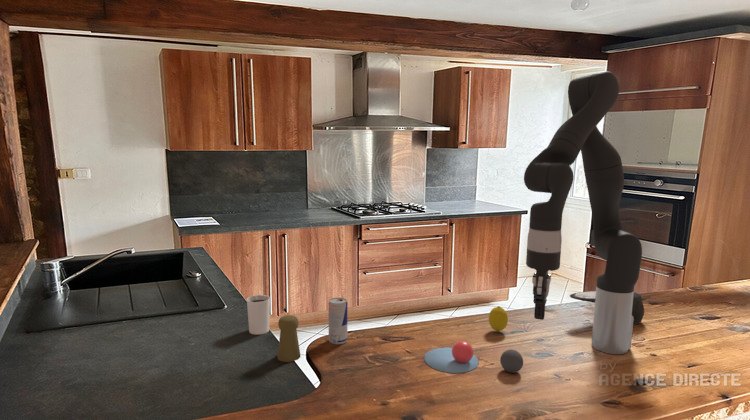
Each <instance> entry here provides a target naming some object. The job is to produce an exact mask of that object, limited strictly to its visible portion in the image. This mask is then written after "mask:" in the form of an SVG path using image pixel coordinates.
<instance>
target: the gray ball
mask: <svg viewBox="0 0 750 420" xmlns="http://www.w3.org/2000/svg"><path fill="white" fill-rule="evenodd" d="M499 359H500V360H499V361H500V365H501V367H502V369H504V370H505V371H506V372H507V373H510V374H511V373H512V374H513V373H517V372H520V370H521V369H522V368H523V366H524V358H523V356H522V355H521V353H520V352H518V351H517V350H516V349H507V350H505V351H503V353H502V354H501V355H500V358H499Z"/></svg>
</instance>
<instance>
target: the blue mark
mask: <svg viewBox="0 0 750 420" xmlns="http://www.w3.org/2000/svg"><path fill="white" fill-rule="evenodd" d="M452 348H453V347H438V348H434V349H431V350H429V351H427V352H426V353H425V354H424V357H423V359H424V362H425V364H426V365H427V366H429V367H430V368H432V369H434V370H437V371H438V372H443V373H449V374H461V373H467V372H471V371H473V370H476V369H477V367H478V366H479V359H478V357H477V356H476V355H475V354H473V357H472V359H471V360H470V361H469V362H467V363H459V362H457V361H456V360H455V359H454V358H453V355H452Z"/></svg>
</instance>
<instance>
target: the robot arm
mask: <svg viewBox="0 0 750 420" xmlns="http://www.w3.org/2000/svg"><path fill="white" fill-rule="evenodd" d="M567 87H568V88H567V98H568V103H569V107H570V112H571V115H572V116H571V117H570V118H568V119H567V120H566V121H565V122H563V123H562V124H561V125H560V126H559V128H558V129H557V130H556V131H555V133H554V135H553V136H552V139H551V140H550V142H549V143H548V146H547V147H546V148H544V149H542V151H541V152H540V153H539V154H537V155H536V156H535V157H534V158H533V159H532V160H531V161H530V162H529V163H528V165H527V166H526V168H525V170H524V174H523V183H524V185H525V187H526V188H527V189H528V190H530V191H531V192H535V193H547V194H551V195H550V198H549V199H548V200H547V201H543V202H542V201H540V202H535V203H533V204H532V205H531V206H530V212H529V224H528V225H529V226H528V227H529V229H528V233H527V240H526V242H527V243H526V256H525V257H526V258H525V264H526V266H527V268H529V269H533V270H535V271H536V272H534V273H533V274H532V280H531V281H532V284H533V285H532V295H533V304H534V319H535V320H541V321H542V320H544V319H545V312H546V304H547V301H548V300H547V297H548V296H549V292H550V285H551V281H552V274H549V272H550V271H558V270H559V269H560V267H561V255H562V253H561V252H562V240H563V239H562V237H563V236H562V223H563V222H562V221H563V212H564V209H565V205H566V202H567V199H568V197H569V194H570V191H571V189H572V186H573V181H574V171H573V169H572V167H571V166H572V165H573V164H574V163H575V161H576V159H577V158H578V156H579V154H580V153H581V159H582V165H583V172H584V178H585V184H586V187H587V193H588V198H589V205H590V209H591V216H592V229H593V244H594V249H595V252H596V254H597V255H598V256H599V258H601V259H602V260H604V261H606V262H605V263H606V264H605V269H604V273H601V274H599V275H597V277H596V283H595V284H596V286H595V291H596V297H595V303H594V311H593V323H592V333H591V346H592V347H593V348H594V349H595V350H597V351H599V352H603V353H606V354H611V355H624V354H627V353H628V352H629V350H631V349H632V348H631V347H632V339H633V328H634V325H633V320H634V317H633V316H632V305H633V293H634V291H635V285H636V284H637V282H638V281H639V277H640V269H641V265H642V264H641V263H642V257H643V256H642V255H643V246H642V243H641V240H640V239H639V237H638V236H636V235H634V234H632V233H631V232H629V231H625V230H624V229H623V226H622V221H621V217H620V203H621V198H622V194H623V191H624V186H625V176H624V175H625V174H624V169H623V168H624V167H623V163H622V158H621V155H620V153H619V152H618V150H617V149H616V148H615V147H614V145H613V144H612V143H611V142H610V140H608V139H607V138H606V137H605V136H604V135H603V134H602V133H601V131H600V130H599V127H598V124H599V123H600V122H602V120H603V118H604V117H605V116H606V114H608V112H610V110H611V109H612V108H613V106H614V105H615V103H616V102H617V100H618V97H619V93H620V86H619V81H618V78H617V76H616V75H615V74H614V73H613V72H611V71H609V70H608V71H606V70H603V71H598V72H597V71H596V72H594V73H590V74H586V75H582V76H578V77H575V78H573V79H572V80H571V81H570V82H569V84H568V86H567Z"/></svg>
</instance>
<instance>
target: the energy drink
mask: <svg viewBox="0 0 750 420" xmlns="http://www.w3.org/2000/svg"><path fill="white" fill-rule="evenodd" d="M328 342H329V343H330V344H332V345H337V346H338V345H344V344H346V342H348V301H347V299H346V298H344V297H332V298H330V299H329V300H328Z"/></svg>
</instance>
